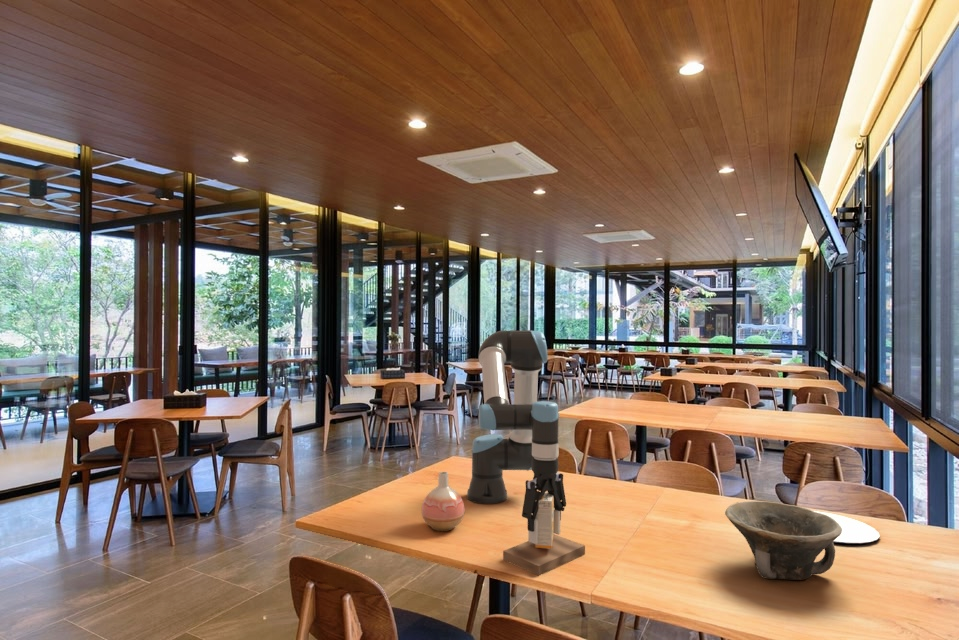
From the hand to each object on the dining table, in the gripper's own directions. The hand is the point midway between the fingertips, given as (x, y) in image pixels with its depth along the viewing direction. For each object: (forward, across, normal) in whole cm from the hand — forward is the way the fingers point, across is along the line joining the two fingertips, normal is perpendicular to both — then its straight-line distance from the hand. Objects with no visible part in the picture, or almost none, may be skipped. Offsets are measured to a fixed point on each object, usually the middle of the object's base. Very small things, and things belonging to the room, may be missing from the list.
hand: (544, 537), depth 152 cm
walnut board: (+5, 0, 0) cm, 5 cm away
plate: (+6, -84, +47) cm, 96 cm away
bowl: (+6, -39, +49) cm, 63 cm away
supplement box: (+2, 0, 0) cm, 2 cm away
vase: (+6, +7, -36) cm, 38 cm away
